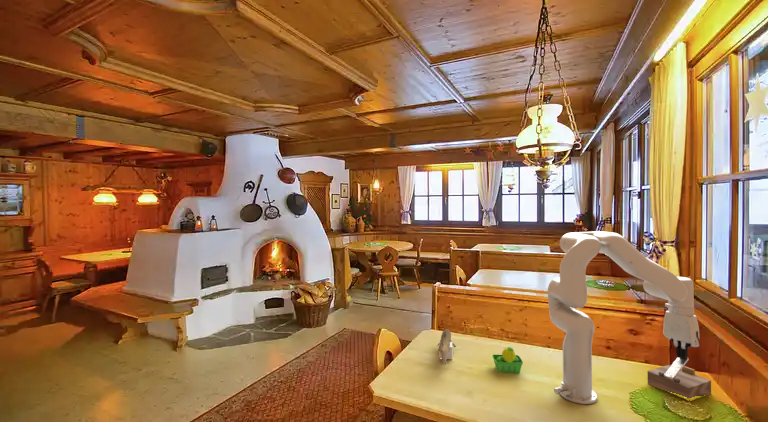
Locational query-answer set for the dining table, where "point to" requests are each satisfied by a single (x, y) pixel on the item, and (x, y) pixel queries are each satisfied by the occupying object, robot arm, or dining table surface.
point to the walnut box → (680, 382)
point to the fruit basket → (508, 361)
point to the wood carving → (446, 346)
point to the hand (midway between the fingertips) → (681, 357)
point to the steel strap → (675, 368)
